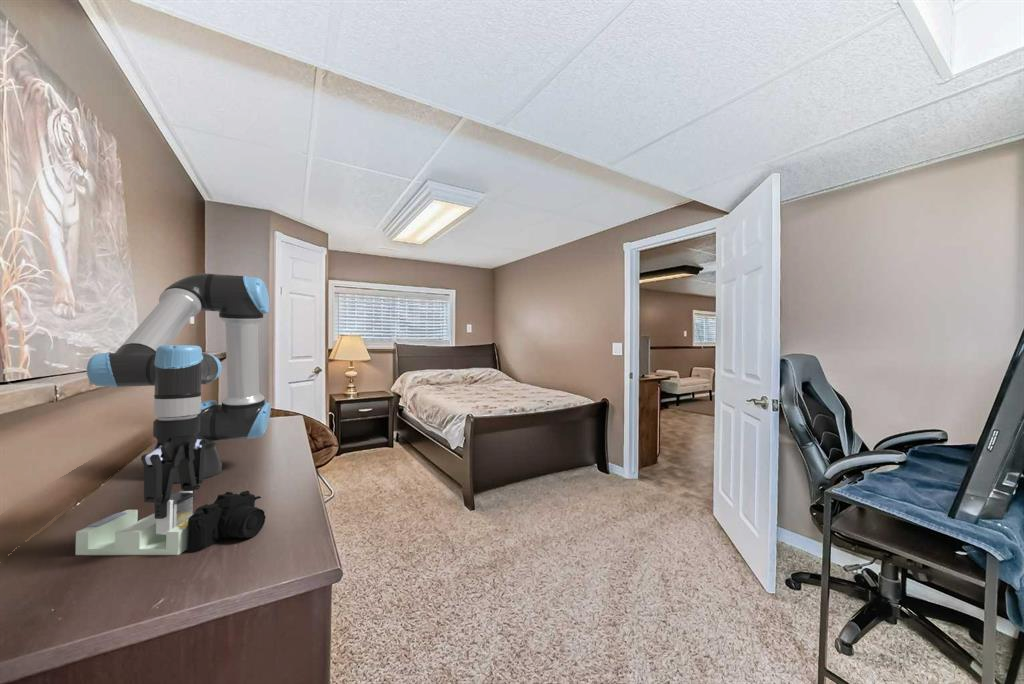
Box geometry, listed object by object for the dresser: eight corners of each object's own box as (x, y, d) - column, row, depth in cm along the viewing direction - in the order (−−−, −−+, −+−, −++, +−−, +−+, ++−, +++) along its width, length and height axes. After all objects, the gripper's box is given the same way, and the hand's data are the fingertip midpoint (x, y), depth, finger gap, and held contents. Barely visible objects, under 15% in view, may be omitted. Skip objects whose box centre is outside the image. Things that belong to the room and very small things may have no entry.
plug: (173, 524, 81) (174, 492, 81) (192, 524, 81) (193, 492, 81) (155, 534, 77) (156, 500, 77) (176, 534, 77) (177, 500, 77)
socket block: (126, 530, 84) (126, 508, 84) (216, 530, 84) (217, 508, 84) (75, 555, 74) (76, 530, 74) (178, 555, 74) (178, 530, 74)
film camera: (217, 558, 74) (218, 513, 74) (179, 552, 76) (180, 508, 76) (280, 523, 88) (281, 485, 89) (246, 518, 90) (247, 481, 91)
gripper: (193, 410, 88) (190, 509, 88) (118, 425, 71) (114, 548, 70) (225, 410, 88) (223, 509, 88) (158, 425, 71) (154, 548, 71)
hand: (174, 526), depth 79 cm, fingers closed on plug, 4 cm apart
